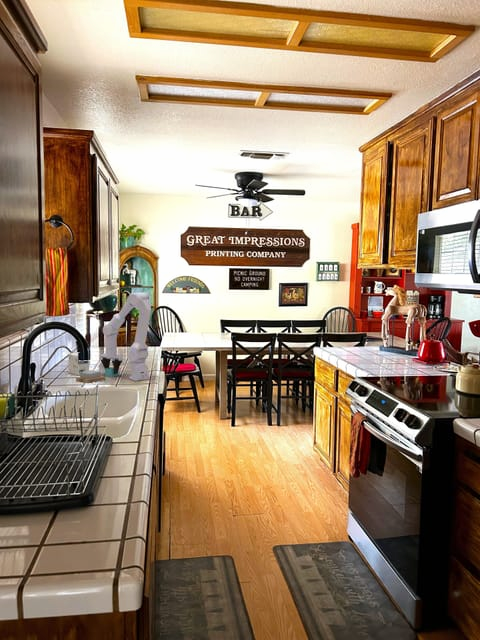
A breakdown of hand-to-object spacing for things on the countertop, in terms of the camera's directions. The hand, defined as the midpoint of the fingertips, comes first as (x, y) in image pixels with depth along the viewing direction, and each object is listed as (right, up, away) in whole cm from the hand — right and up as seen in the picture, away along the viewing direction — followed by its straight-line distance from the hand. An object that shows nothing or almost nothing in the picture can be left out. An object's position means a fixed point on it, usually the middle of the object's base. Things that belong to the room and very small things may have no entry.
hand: (111, 372), depth 254 cm
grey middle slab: (-7, -1, -13) cm, 15 cm away
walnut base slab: (-7, -3, -13) cm, 15 cm away
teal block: (0, -2, 0) cm, 2 cm away
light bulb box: (-19, -1, +5) cm, 20 cm away
